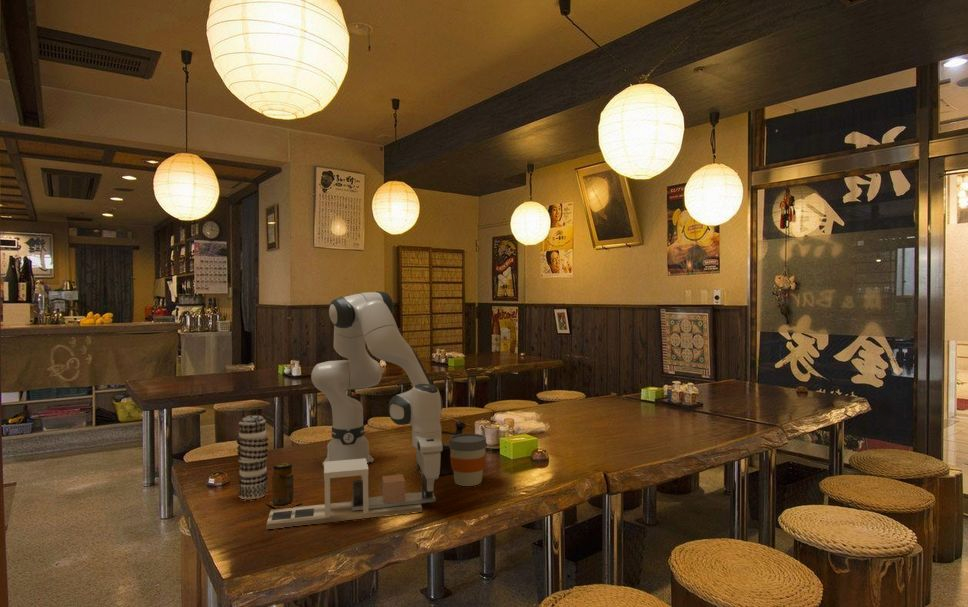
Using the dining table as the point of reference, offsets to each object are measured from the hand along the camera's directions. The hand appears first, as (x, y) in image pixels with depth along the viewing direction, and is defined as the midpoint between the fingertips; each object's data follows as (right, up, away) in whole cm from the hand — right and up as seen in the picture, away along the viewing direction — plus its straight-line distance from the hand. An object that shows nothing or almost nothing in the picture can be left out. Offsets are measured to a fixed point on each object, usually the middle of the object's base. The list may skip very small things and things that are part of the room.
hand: (427, 485), depth 166 cm
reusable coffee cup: (+12, -6, +20) cm, 24 cm away
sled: (-10, -4, -3) cm, 11 cm away
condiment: (-43, -7, +1) cm, 44 cm away
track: (-23, -6, -7) cm, 24 cm away
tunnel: (-23, -5, -7) cm, 24 cm away
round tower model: (-56, -7, +9) cm, 57 cm away
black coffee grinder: (+2, -6, +32) cm, 33 cm away
